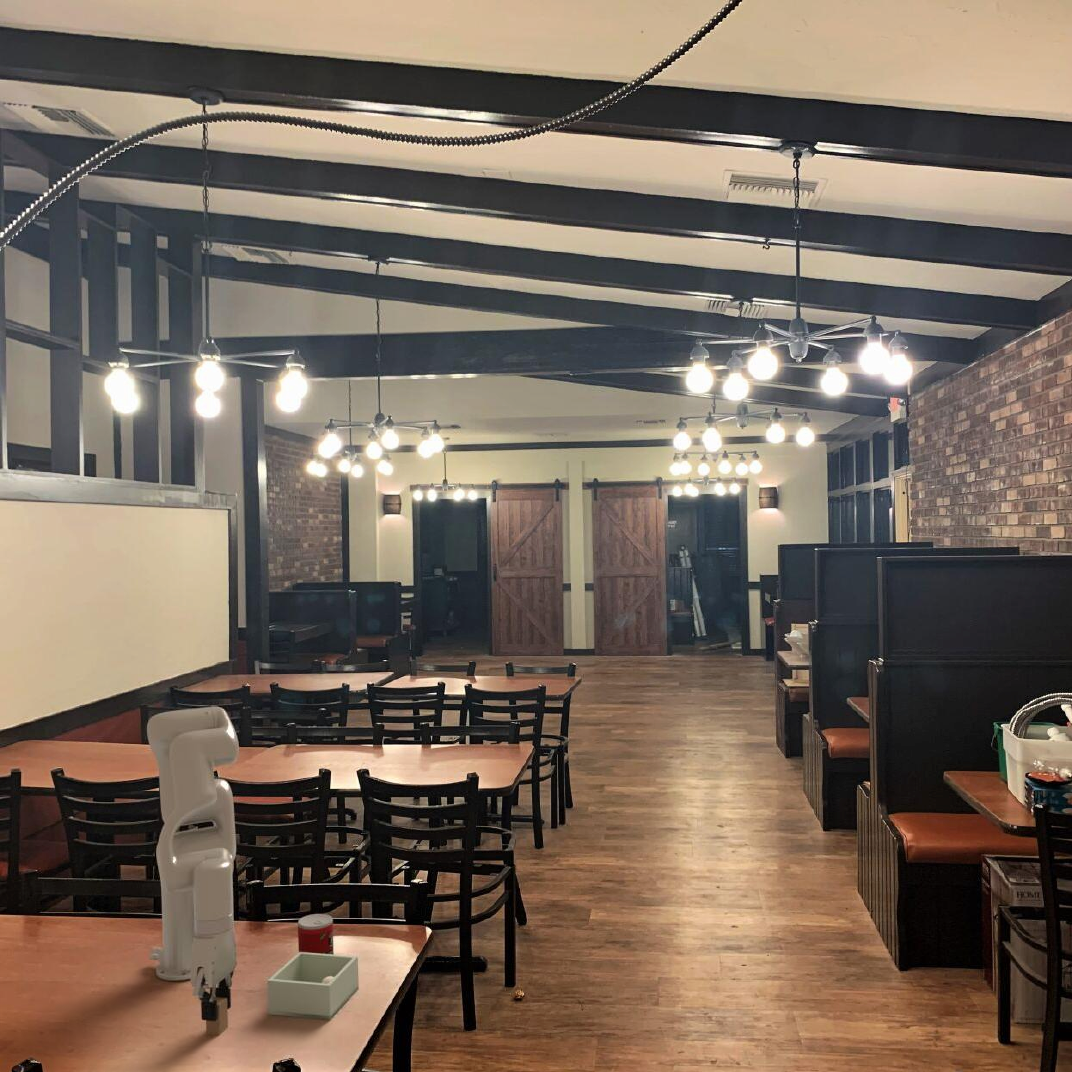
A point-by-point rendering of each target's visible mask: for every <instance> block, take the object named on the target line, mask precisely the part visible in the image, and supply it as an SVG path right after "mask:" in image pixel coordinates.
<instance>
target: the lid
mask: <svg viewBox="0 0 1072 1072" xmlns="http://www.w3.org/2000/svg"><path fill="white" fill-rule="evenodd" d="M215 1000H217V1020H216V1021H206V1020H205V1024H206V1025H205V1028H206V1029H205V1031H206V1033H205V1034H206V1035H217V1036H218V1035H219V1036H220V1035H221V1034H222V1033H224V1032H225V1031H226V1030H227V1029H228V1028H229V1023H228V1022H229V1021H228V1019H229V1017H228V1014H229V1013H228V1009H227V998H222V997H215Z"/></svg>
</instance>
